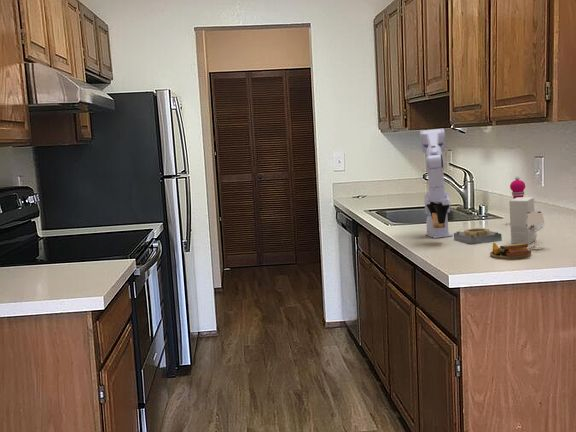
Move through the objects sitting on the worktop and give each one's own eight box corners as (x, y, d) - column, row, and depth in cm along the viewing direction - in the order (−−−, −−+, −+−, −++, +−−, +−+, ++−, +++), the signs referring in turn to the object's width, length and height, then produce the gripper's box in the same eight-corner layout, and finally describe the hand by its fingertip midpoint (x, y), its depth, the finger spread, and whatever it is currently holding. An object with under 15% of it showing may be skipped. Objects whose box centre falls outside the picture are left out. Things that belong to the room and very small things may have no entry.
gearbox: (450, 238, 234) (449, 229, 233) (479, 234, 236) (478, 225, 235) (471, 244, 217) (470, 234, 217) (501, 240, 219) (501, 230, 219)
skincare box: (518, 239, 217) (516, 197, 215) (537, 240, 213) (535, 196, 211) (510, 244, 211) (508, 200, 209) (529, 244, 206) (527, 199, 205)
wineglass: (540, 245, 202) (538, 210, 201) (548, 248, 197) (546, 212, 195) (523, 247, 202) (521, 212, 201) (531, 250, 197) (529, 214, 195)
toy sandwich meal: (527, 251, 197) (526, 237, 196) (536, 259, 184) (535, 244, 183) (487, 253, 199) (486, 239, 199) (493, 261, 186) (492, 247, 186)
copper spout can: (436, 228, 223) (434, 211, 223) (431, 227, 228) (430, 210, 227) (447, 227, 224) (445, 209, 223) (442, 225, 228) (440, 208, 228)
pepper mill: (530, 224, 249) (527, 176, 247) (512, 225, 251) (509, 177, 249) (527, 221, 256) (524, 175, 254) (509, 222, 258) (506, 176, 256)
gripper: (418, 187, 231) (421, 221, 232) (434, 188, 216) (437, 226, 218) (435, 185, 232) (438, 219, 233) (452, 186, 218) (455, 223, 219)
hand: (438, 222), depth 226 cm, fingers closed on copper spout can, 4 cm apart
